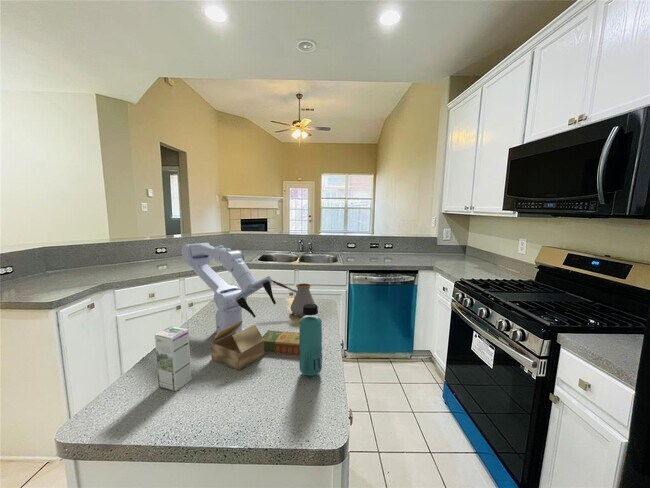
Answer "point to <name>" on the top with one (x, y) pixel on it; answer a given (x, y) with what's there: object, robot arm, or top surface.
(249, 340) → the flap
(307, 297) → the coffee pot
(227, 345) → the cardboard box
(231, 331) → the flap
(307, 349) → the beverage bottle
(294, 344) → the carton
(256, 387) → the top surface
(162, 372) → the syrup box
